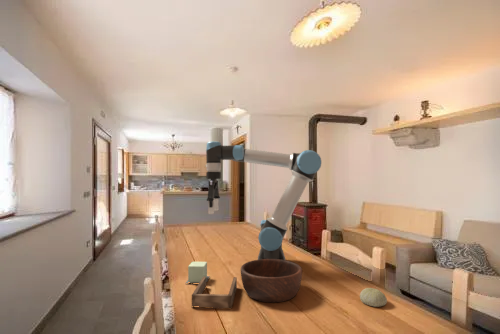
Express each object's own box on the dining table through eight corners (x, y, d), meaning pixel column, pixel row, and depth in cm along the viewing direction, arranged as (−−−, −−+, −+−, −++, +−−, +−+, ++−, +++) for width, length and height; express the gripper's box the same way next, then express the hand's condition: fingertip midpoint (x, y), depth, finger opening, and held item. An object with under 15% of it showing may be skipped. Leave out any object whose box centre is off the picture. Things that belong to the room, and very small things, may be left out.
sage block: (207, 276, 135) (207, 261, 135) (203, 282, 128) (203, 266, 128) (192, 276, 135) (192, 261, 135) (188, 282, 128) (188, 266, 128)
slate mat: (209, 277, 136) (209, 276, 136) (205, 284, 127) (205, 283, 127) (190, 277, 136) (190, 275, 136) (185, 284, 127) (185, 283, 127)
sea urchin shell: (375, 306, 101) (362, 284, 106) (363, 315, 106) (352, 293, 111) (394, 301, 104) (381, 280, 110) (382, 310, 109) (370, 289, 115)
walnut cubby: (236, 287, 123) (236, 277, 123) (231, 308, 103) (231, 295, 103) (203, 287, 123) (203, 276, 123) (191, 307, 104) (191, 295, 104)
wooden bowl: (242, 281, 130) (242, 258, 131) (298, 281, 130) (297, 258, 130) (238, 306, 105) (238, 277, 106) (307, 306, 105) (306, 278, 105)
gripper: (210, 171, 163) (211, 209, 163) (201, 171, 138) (201, 215, 138) (224, 171, 163) (224, 209, 162) (216, 170, 138) (216, 215, 137)
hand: (213, 212), depth 150 cm, fingers open, 13 cm apart
